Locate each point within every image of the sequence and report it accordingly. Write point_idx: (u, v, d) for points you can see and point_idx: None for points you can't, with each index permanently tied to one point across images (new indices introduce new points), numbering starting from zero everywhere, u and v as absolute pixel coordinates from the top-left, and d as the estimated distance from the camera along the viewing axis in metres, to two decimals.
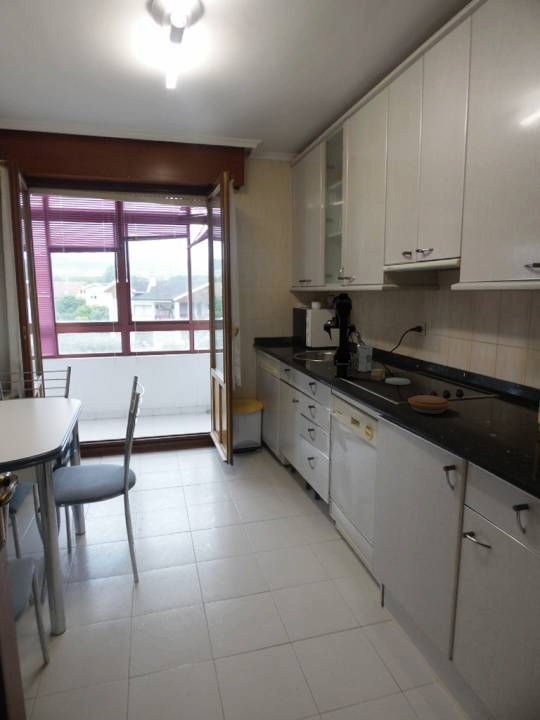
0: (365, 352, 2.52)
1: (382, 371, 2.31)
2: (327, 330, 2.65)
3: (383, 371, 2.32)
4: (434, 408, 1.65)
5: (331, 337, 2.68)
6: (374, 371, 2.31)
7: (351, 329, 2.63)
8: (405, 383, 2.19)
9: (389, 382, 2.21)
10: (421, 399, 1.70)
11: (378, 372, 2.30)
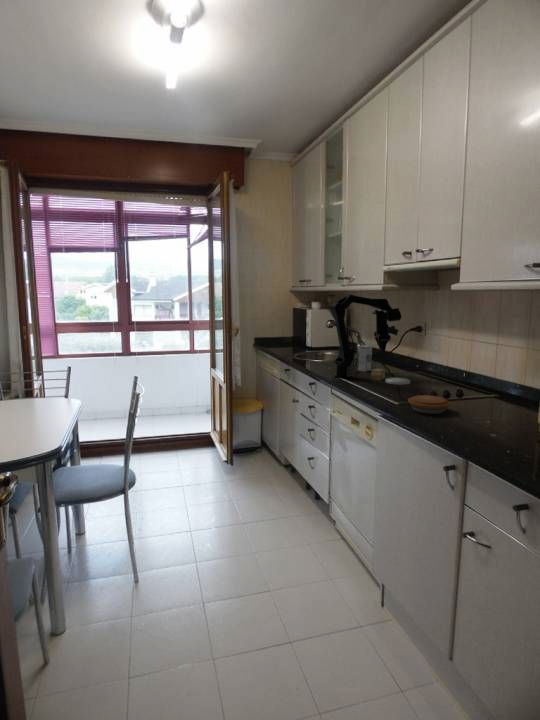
0: (364, 352, 2.52)
1: (382, 371, 2.31)
2: (374, 335, 2.49)
3: (383, 371, 2.32)
4: (434, 408, 1.65)
5: (378, 345, 2.47)
6: (374, 371, 2.31)
7: None
8: (405, 383, 2.19)
9: (389, 382, 2.21)
10: (421, 399, 1.70)
11: (378, 372, 2.30)
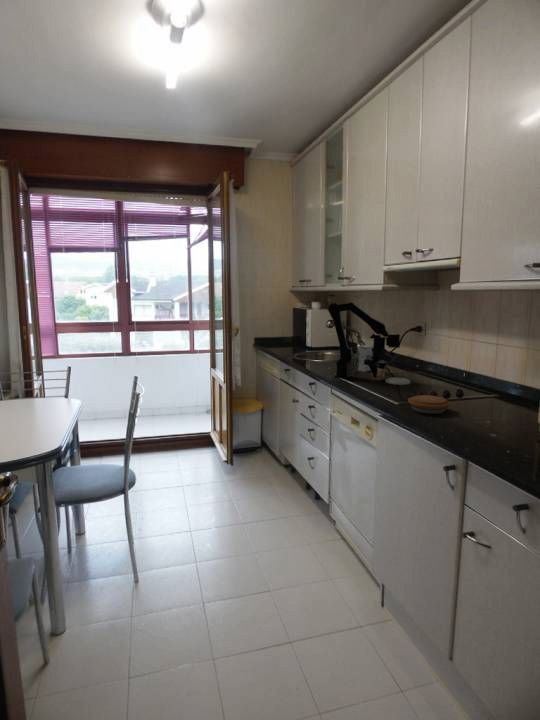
0: (364, 352, 2.52)
1: (382, 371, 2.31)
2: None
3: (383, 371, 2.32)
4: (434, 408, 1.65)
5: None
6: None
7: None
8: (405, 383, 2.19)
9: (389, 382, 2.21)
10: (421, 399, 1.70)
11: (378, 372, 2.30)
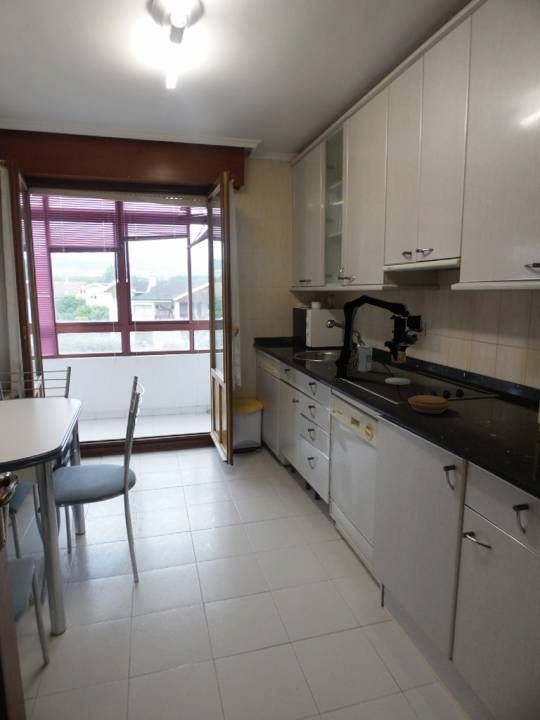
0: (364, 352, 2.52)
1: (403, 354, 2.20)
2: None
3: (404, 354, 2.21)
4: (434, 408, 1.65)
5: None
6: None
7: None
8: (405, 383, 2.19)
9: (389, 382, 2.21)
10: (421, 399, 1.70)
11: (399, 355, 2.19)
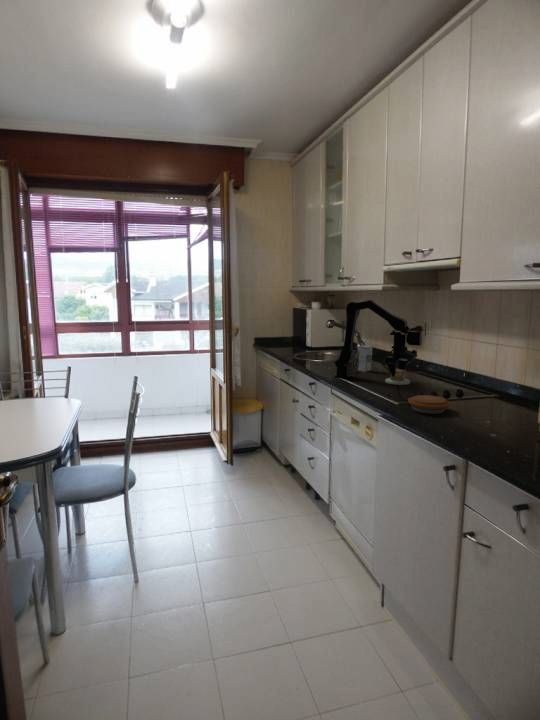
0: (364, 352, 2.52)
1: (402, 372, 2.22)
2: None
3: (403, 372, 2.23)
4: (434, 408, 1.65)
5: None
6: None
7: None
8: (405, 383, 2.19)
9: (389, 382, 2.21)
10: (421, 399, 1.70)
11: (398, 373, 2.21)
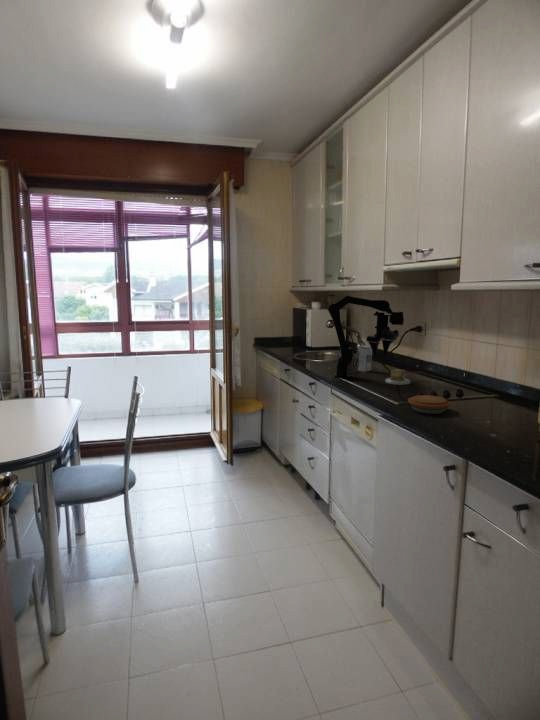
0: (364, 352, 2.52)
1: (402, 372, 2.22)
2: None
3: (403, 372, 2.23)
4: (434, 408, 1.65)
5: (383, 348, 2.38)
6: (394, 372, 2.22)
7: None
8: (405, 383, 2.19)
9: (389, 382, 2.21)
10: (421, 399, 1.70)
11: (398, 373, 2.21)
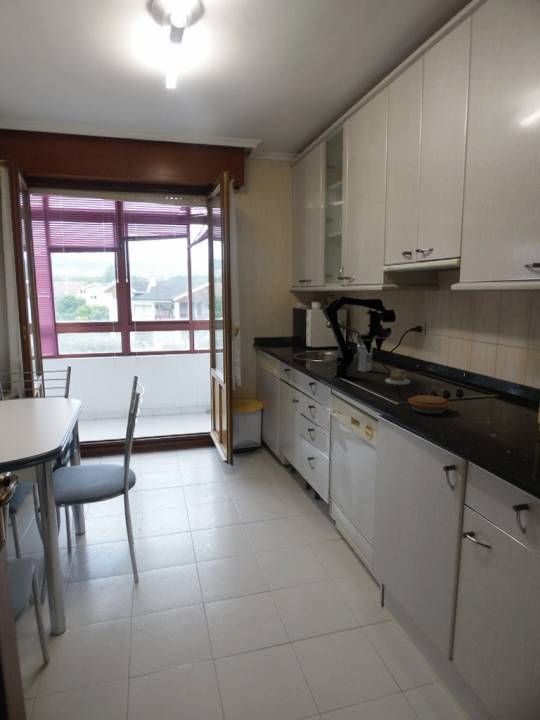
0: (364, 352, 2.52)
1: (402, 372, 2.22)
2: None
3: (403, 372, 2.23)
4: (434, 408, 1.65)
5: None
6: (394, 372, 2.22)
7: None
8: (405, 383, 2.19)
9: (389, 382, 2.21)
10: (421, 399, 1.70)
11: (398, 373, 2.21)
